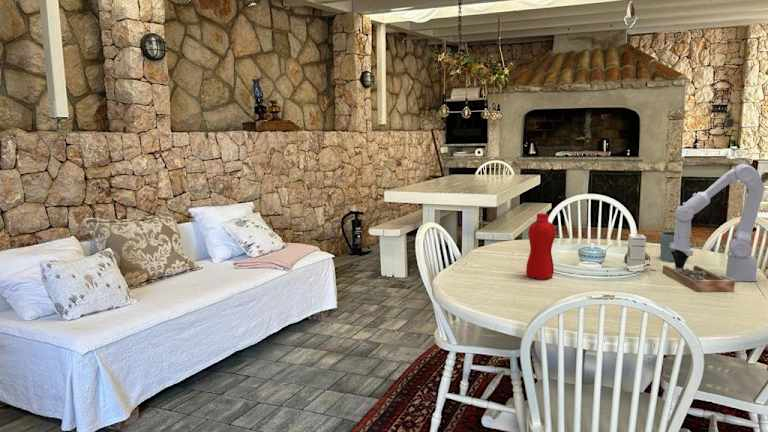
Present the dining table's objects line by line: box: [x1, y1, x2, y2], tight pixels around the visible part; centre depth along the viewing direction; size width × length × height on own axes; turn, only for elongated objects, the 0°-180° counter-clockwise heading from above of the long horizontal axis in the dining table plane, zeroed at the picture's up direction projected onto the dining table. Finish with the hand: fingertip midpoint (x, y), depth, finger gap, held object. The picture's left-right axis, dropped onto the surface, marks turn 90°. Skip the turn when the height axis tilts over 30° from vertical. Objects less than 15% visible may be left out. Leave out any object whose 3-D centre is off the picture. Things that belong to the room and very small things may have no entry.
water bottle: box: [525, 212, 556, 281], centre depth 219 cm, size 9×11×25 cm
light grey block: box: [623, 251, 651, 263], centre depth 242 cm, size 10×10×8 cm
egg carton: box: [673, 267, 707, 281], centre depth 218 cm, size 11×8×4 cm
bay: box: [662, 265, 736, 293], centre depth 214 cm, size 13×25×4 cm, turn 179°
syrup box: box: [626, 233, 647, 273], centre depth 229 cm, size 6×6×14 cm
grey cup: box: [659, 230, 675, 263], centre depth 246 cm, size 10×10×12 cm
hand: (679, 269), depth 227 cm, fingers closed
